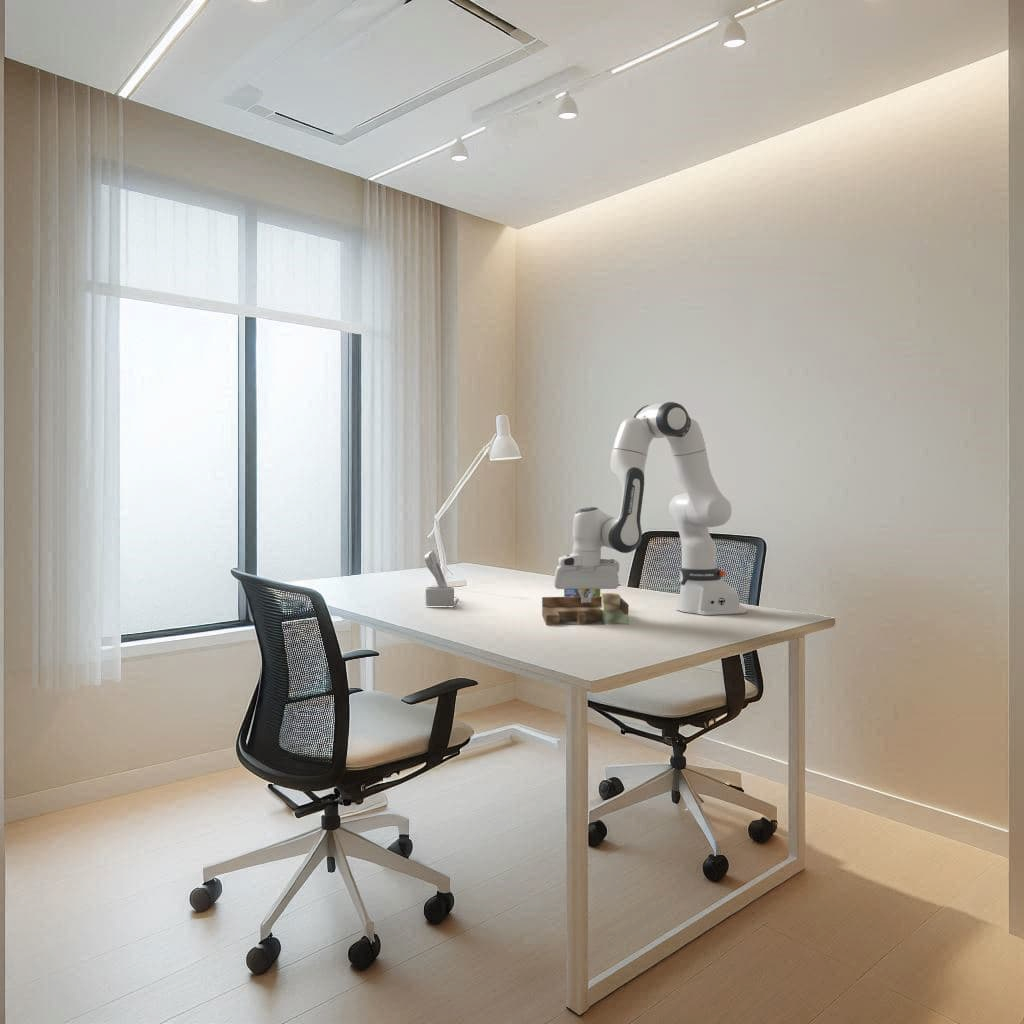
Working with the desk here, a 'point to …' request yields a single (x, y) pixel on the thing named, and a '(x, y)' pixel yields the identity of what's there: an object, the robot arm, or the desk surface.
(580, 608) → the track
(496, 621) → the desk surface
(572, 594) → the chalk box
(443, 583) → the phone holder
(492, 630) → the desk surface
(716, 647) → the desk surface
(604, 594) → the maple block
